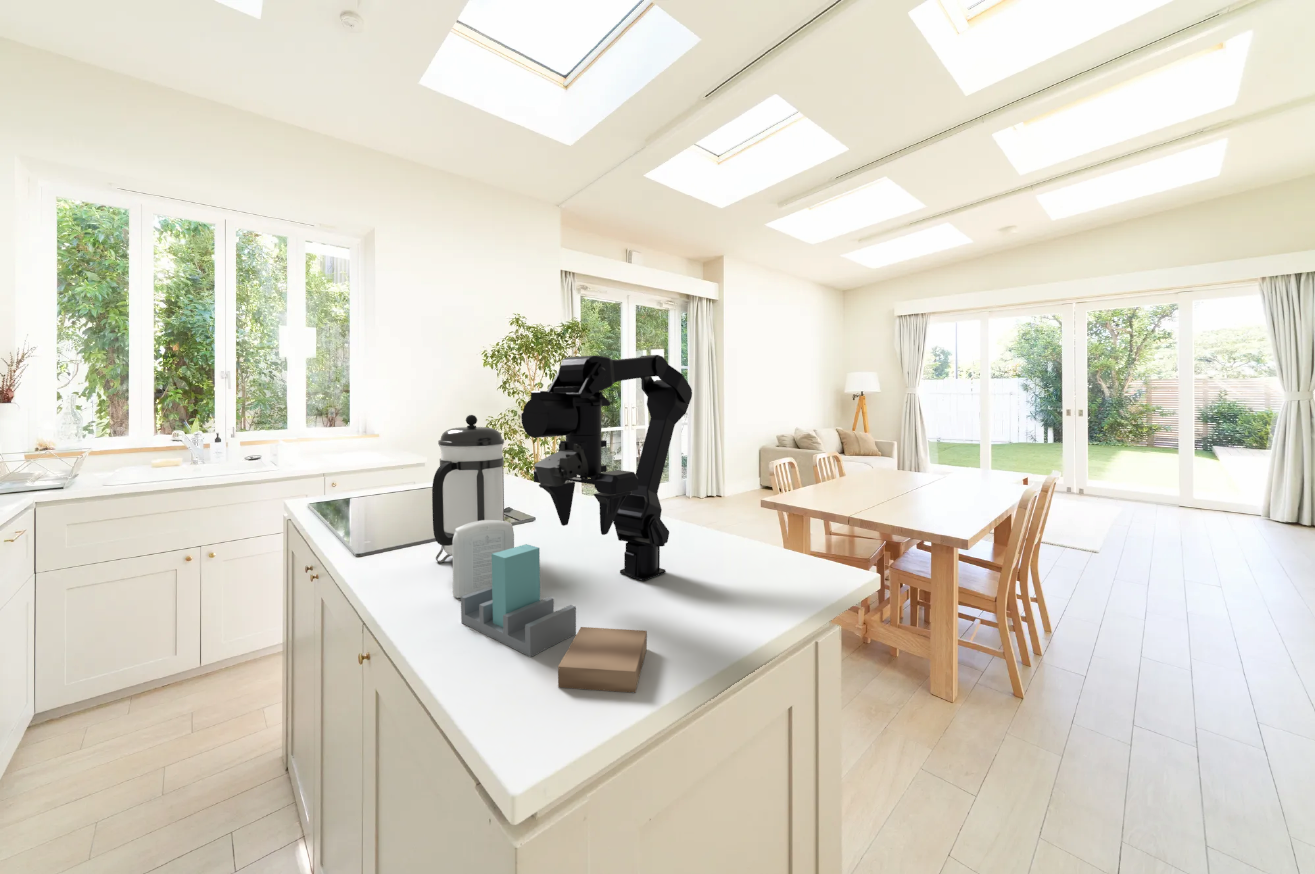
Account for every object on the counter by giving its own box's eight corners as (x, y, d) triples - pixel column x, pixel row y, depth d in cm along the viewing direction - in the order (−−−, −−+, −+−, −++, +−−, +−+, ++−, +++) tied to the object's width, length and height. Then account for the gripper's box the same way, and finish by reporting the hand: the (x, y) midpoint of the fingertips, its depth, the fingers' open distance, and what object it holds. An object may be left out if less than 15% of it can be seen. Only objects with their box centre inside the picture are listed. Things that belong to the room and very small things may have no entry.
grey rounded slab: (510, 581, 90) (509, 514, 89) (518, 588, 86) (517, 519, 85) (450, 593, 84) (449, 522, 83) (455, 601, 81) (454, 527, 80)
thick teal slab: (527, 608, 74) (526, 544, 74) (540, 614, 73) (539, 547, 72) (492, 622, 70) (491, 553, 69) (505, 628, 68) (504, 558, 67)
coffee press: (427, 552, 106) (423, 414, 104) (502, 542, 114) (500, 413, 112) (434, 578, 91) (430, 416, 89) (521, 564, 99) (519, 415, 97)
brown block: (580, 644, 67) (580, 626, 66) (646, 648, 66) (646, 630, 65) (558, 687, 57) (558, 666, 57) (635, 692, 56) (635, 671, 56)
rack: (507, 605, 79) (506, 581, 79) (575, 633, 70) (575, 606, 69) (461, 622, 73) (460, 596, 73) (530, 657, 63) (529, 627, 63)
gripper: (505, 434, 78) (507, 530, 80) (589, 440, 67) (589, 552, 68) (559, 431, 87) (559, 517, 88) (640, 436, 76) (640, 535, 77)
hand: (583, 529), depth 80 cm, fingers open, 9 cm apart
